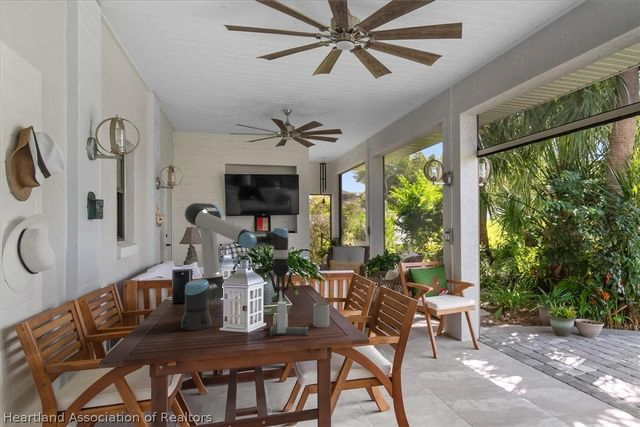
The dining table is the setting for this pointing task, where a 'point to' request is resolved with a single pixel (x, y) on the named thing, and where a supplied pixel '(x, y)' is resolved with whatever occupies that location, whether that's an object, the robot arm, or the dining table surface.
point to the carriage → (281, 317)
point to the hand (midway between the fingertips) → (280, 304)
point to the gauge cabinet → (276, 320)
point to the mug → (321, 315)
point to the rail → (290, 331)
